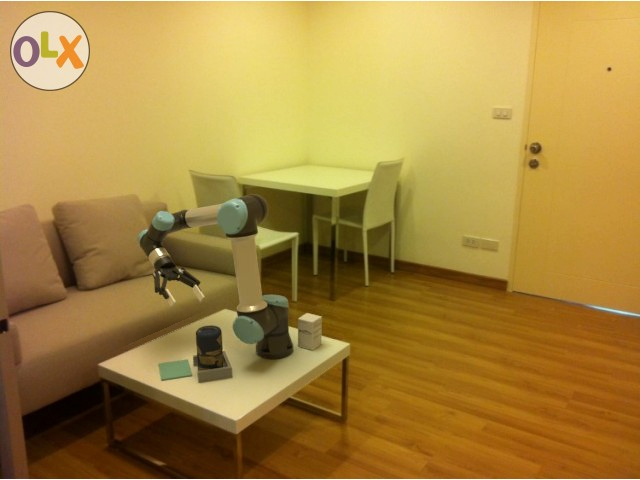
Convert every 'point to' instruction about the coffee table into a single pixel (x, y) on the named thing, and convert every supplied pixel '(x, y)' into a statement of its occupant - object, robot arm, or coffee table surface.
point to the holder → (214, 371)
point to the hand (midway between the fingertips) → (188, 301)
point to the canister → (209, 348)
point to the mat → (175, 370)
